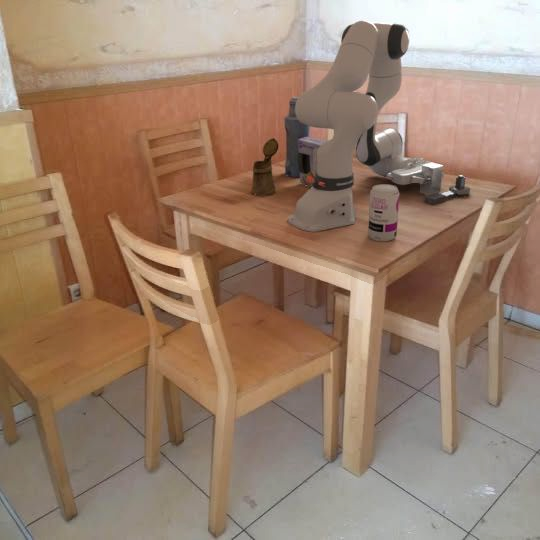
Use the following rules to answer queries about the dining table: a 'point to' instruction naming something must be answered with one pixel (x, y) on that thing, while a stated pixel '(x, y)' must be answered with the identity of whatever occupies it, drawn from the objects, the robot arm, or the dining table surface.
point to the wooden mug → (264, 171)
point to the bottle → (293, 139)
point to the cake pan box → (308, 158)
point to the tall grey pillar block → (431, 178)
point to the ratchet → (450, 192)
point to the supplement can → (383, 212)
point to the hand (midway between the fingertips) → (433, 178)
